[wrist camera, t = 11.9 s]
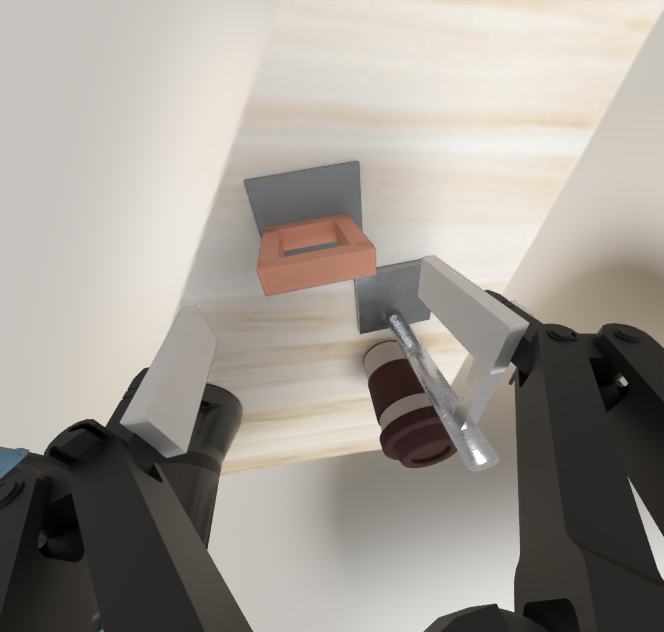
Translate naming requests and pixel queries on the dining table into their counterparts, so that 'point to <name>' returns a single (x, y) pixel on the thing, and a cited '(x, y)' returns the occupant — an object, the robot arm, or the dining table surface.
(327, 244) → the coaster
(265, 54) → the dining table surface
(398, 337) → the stand
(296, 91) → the dining table surface
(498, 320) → the robot arm
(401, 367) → the coffee cup
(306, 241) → the link
